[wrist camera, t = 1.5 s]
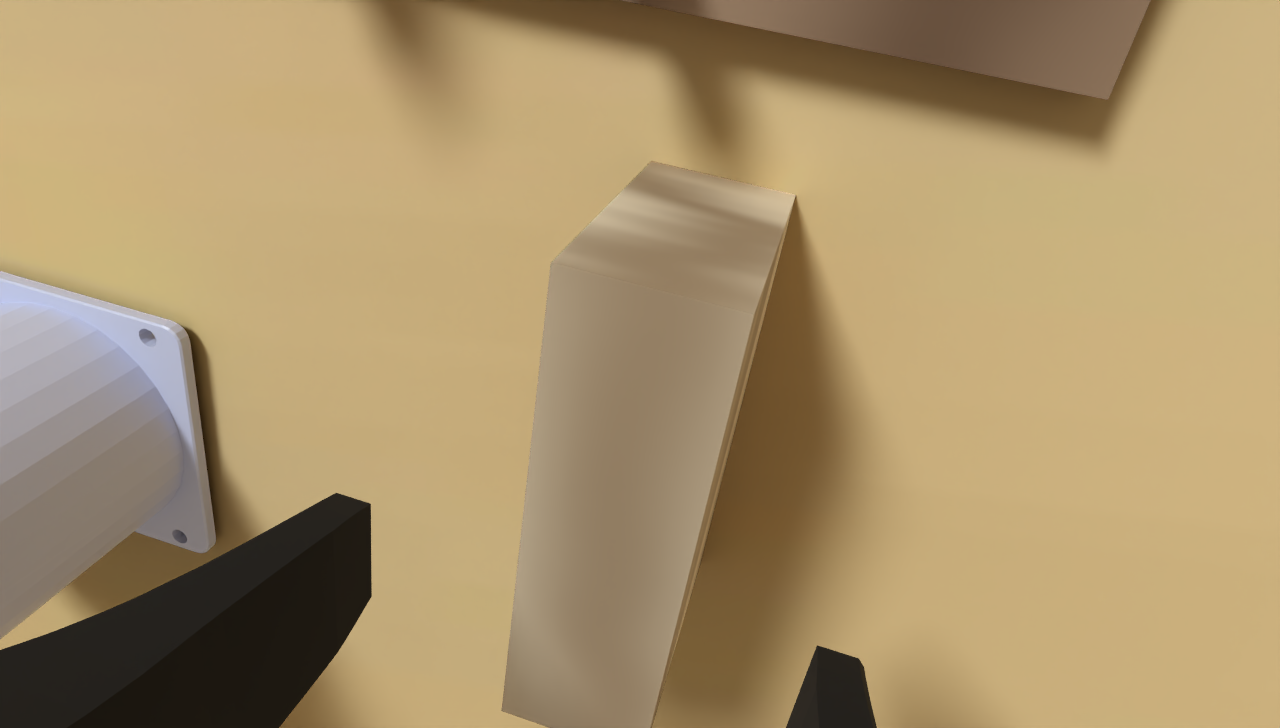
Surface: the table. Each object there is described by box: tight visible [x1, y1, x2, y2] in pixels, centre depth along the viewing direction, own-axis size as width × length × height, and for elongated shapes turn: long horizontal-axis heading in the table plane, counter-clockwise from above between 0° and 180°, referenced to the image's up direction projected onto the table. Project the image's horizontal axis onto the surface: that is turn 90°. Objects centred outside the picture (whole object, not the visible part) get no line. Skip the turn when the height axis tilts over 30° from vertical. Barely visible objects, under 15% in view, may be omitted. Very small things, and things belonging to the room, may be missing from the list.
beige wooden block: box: [502, 161, 796, 728], centre depth 17 cm, size 3×10×6 cm, turn 171°
